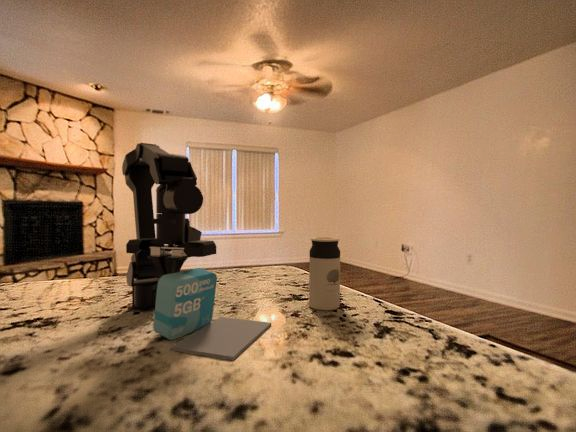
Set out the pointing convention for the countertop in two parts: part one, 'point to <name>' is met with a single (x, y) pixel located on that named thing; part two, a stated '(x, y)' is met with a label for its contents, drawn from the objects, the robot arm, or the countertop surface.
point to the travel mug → (324, 274)
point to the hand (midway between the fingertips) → (170, 288)
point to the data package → (184, 302)
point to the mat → (222, 338)
